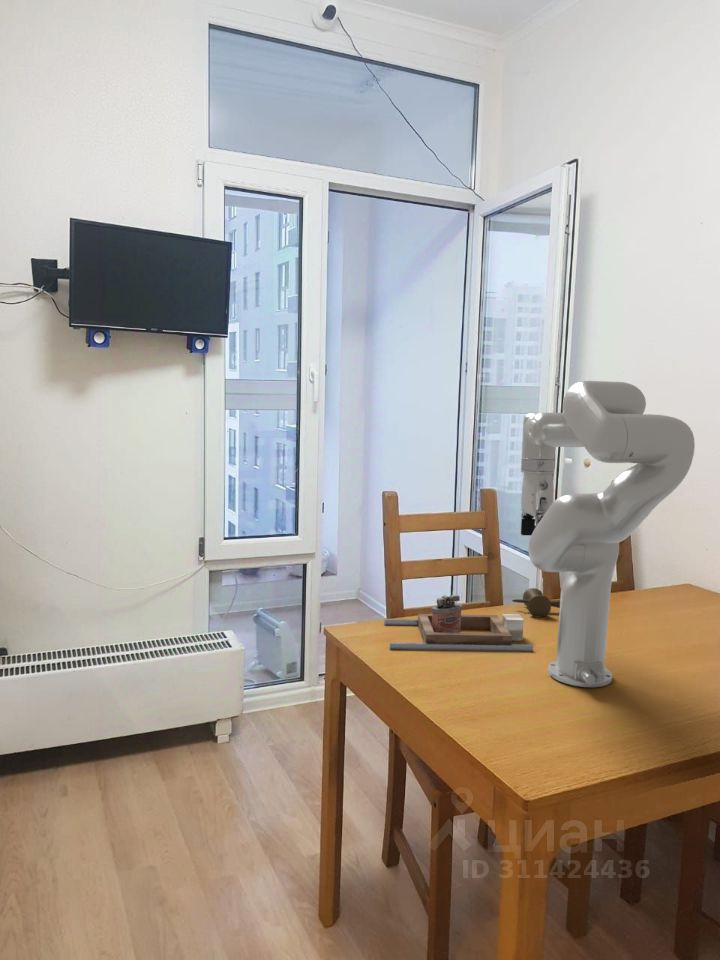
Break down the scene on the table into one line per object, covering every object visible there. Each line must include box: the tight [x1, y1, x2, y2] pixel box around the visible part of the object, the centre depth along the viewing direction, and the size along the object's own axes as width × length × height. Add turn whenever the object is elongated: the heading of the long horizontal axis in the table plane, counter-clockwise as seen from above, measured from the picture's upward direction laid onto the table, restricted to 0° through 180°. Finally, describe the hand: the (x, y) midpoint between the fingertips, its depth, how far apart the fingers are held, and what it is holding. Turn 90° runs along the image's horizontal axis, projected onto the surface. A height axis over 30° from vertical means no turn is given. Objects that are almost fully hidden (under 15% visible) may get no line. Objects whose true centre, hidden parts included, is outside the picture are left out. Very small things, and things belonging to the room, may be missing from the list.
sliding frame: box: [417, 613, 525, 644], centre depth 168 cm, size 15×23×5 cm, turn 92°
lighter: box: [431, 594, 463, 633], centre depth 168 cm, size 8×3×10 cm, turn 119°
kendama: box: [511, 587, 560, 618], centre depth 190 cm, size 6×10×20 cm
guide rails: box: [383, 618, 534, 652], centre depth 168 cm, size 18×32×2 cm, turn 92°
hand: (533, 539), depth 169 cm, fingers open, 9 cm apart
